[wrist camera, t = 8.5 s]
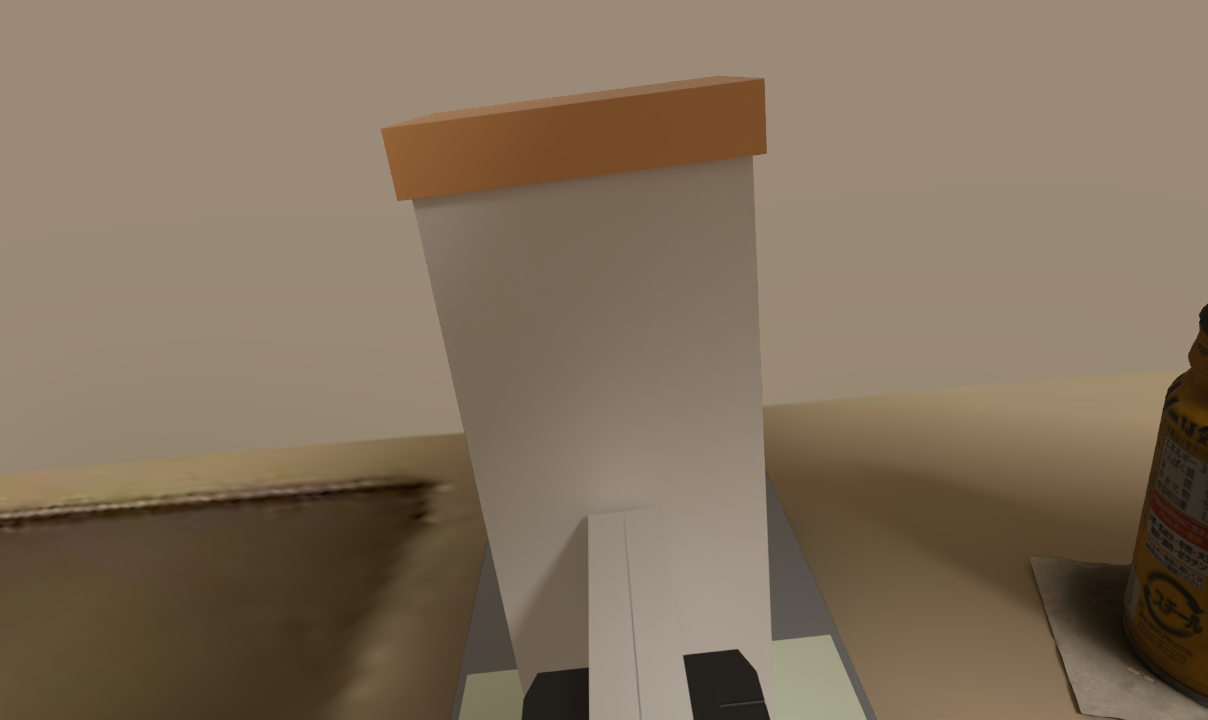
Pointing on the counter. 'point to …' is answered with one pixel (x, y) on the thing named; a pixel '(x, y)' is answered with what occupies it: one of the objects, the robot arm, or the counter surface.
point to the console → (798, 626)
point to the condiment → (1147, 581)
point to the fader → (605, 344)
